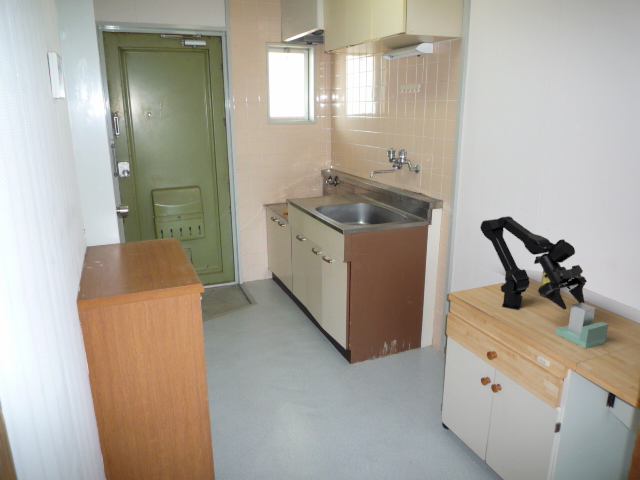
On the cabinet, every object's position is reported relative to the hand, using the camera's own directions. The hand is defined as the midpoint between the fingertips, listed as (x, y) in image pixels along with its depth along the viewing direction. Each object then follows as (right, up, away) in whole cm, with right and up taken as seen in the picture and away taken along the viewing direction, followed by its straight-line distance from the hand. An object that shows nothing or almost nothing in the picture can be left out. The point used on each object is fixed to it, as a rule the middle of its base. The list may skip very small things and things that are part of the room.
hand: (574, 307), depth 167 cm
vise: (+1, -11, 0) cm, 11 cm away
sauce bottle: (+9, 0, +38) cm, 39 cm away
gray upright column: (+1, -9, -1) cm, 9 cm away
